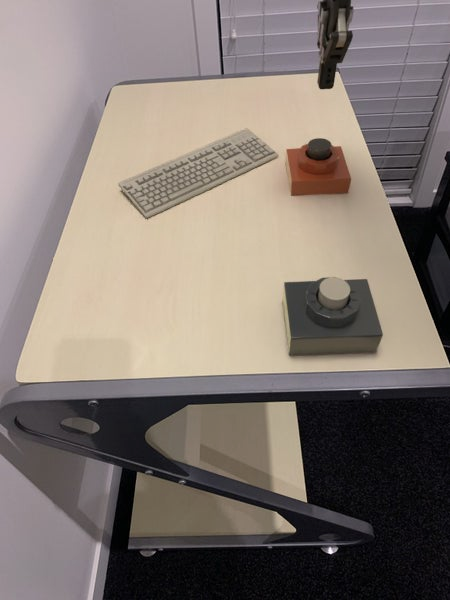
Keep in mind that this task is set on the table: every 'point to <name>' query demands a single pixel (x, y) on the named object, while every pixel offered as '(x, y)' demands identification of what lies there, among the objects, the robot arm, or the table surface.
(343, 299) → the grey cylindrical knob
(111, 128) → the table surface
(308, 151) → the black button cap
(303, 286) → the push button box
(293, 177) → the button base
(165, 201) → the keyboard
